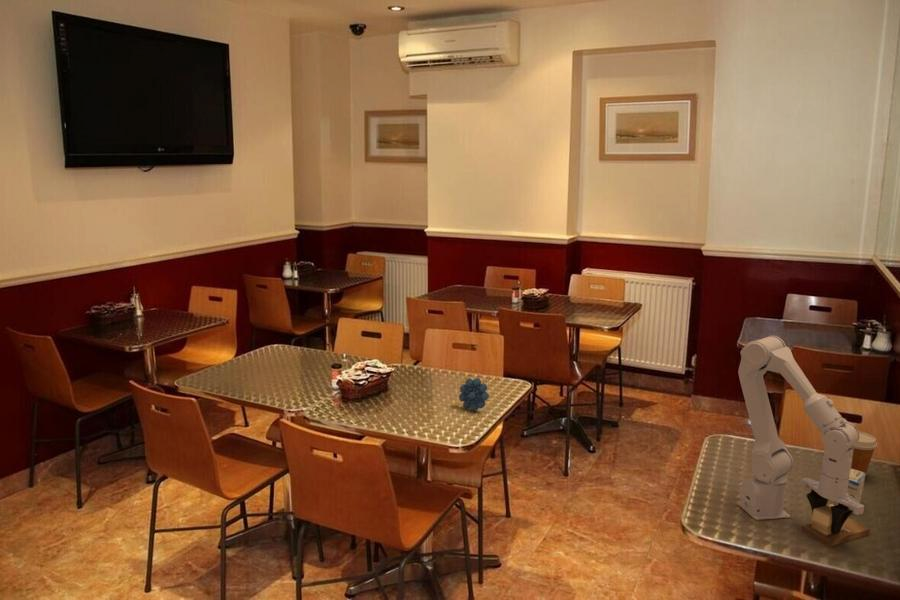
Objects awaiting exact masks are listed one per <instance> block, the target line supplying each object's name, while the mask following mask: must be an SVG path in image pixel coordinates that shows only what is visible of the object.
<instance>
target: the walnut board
mask: <svg viewBox="0 0 900 600" xmlns="http://www.w3.org/2000/svg"><path fill="white" fill-rule="evenodd" d="M811 525H812V523H809V524H805V525H803V526H802V528H801V529H802V530H801V532H803V534H805V535H807V536H809V537H811V538H812V539H814V540H816V541H817V542H818V543H820V544H822V545H824V546H825V547H827V548H830V547H833V546H837V545H840V544H843V543H847V542H849V541H853V540H856V539H859V538H862V537H863V538H864V537H867V536H869V535H870V533H871V528H869V527H867V526H865V525H864V524H862V523H860V522H858V521H856V520H854V519H853V518H850V516H849V517H848V518H847V520H846V521H845V527H844V532H840V533H837V534H834V535H831V536H827V537H825V536H824V535H822V534H820V533H819V532H817V531H815V530H813V529H812V528H811Z"/></svg>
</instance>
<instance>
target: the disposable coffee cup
mask: <svg viewBox="0 0 900 600" xmlns="http://www.w3.org/2000/svg"><path fill="white" fill-rule="evenodd" d="M858 432H859V435H860V438H859V441H858V443H857V444H856V445H854V446H853V447H851V448H854V449H853V456H852V464H851V469H854V470H858V471H861V472H864V473H865V476H866V475H867V473H868V468H869V466H870V463H871V460H872V456H873V454H874V451H875V449H876V448H877V446H878V443H877V439H876V437H875V436H873V435H871V434H869V433H867V432H863V431H860V430H858Z"/></svg>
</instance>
